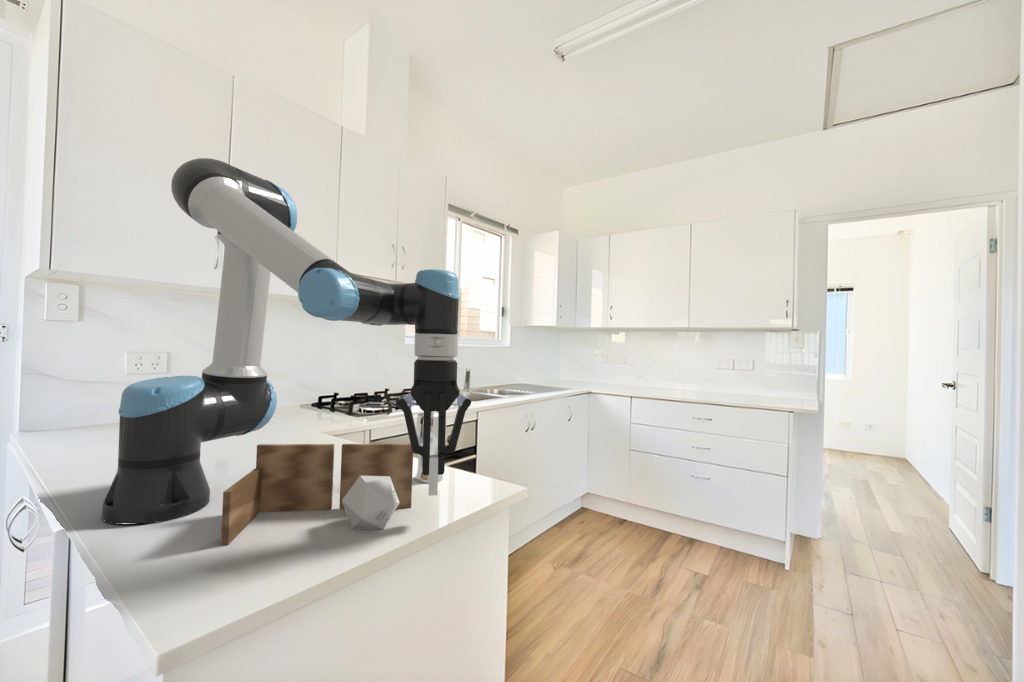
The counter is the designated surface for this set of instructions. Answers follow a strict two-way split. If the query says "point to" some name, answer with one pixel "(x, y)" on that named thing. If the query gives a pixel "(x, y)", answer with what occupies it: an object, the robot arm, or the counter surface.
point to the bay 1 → (280, 485)
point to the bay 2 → (378, 467)
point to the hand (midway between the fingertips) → (432, 492)
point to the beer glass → (433, 443)
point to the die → (370, 502)
